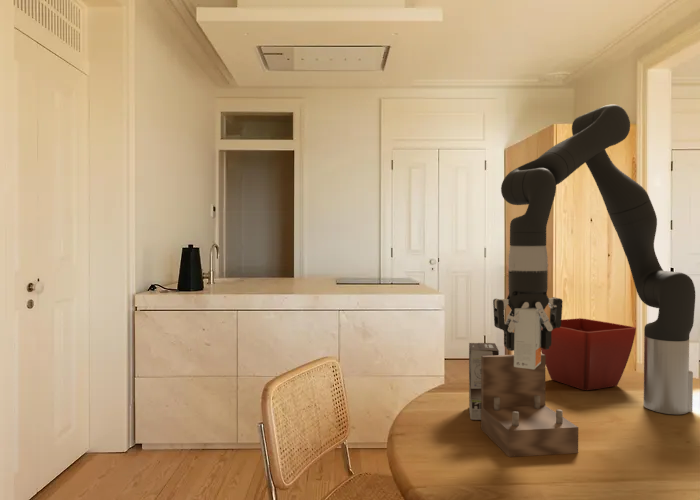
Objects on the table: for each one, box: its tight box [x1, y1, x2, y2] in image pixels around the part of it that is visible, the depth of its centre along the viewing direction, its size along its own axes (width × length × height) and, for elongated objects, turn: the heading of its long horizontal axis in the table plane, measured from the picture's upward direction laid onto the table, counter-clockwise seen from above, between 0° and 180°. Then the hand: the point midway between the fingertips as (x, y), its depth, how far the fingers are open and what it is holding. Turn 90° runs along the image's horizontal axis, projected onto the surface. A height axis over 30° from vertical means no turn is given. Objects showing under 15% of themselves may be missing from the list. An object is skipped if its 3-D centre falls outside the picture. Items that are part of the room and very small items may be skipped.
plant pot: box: [541, 317, 637, 391], centre depth 144 cm, size 19×19×17 cm
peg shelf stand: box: [480, 353, 579, 458], centre depth 104 cm, size 14×14×16 cm
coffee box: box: [468, 342, 500, 421], centre depth 119 cm, size 9×6×16 cm
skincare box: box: [513, 308, 542, 369], centre depth 103 cm, size 6×4×12 cm
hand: (527, 349), depth 103 cm, fingers closed on skincare box, 7 cm apart
